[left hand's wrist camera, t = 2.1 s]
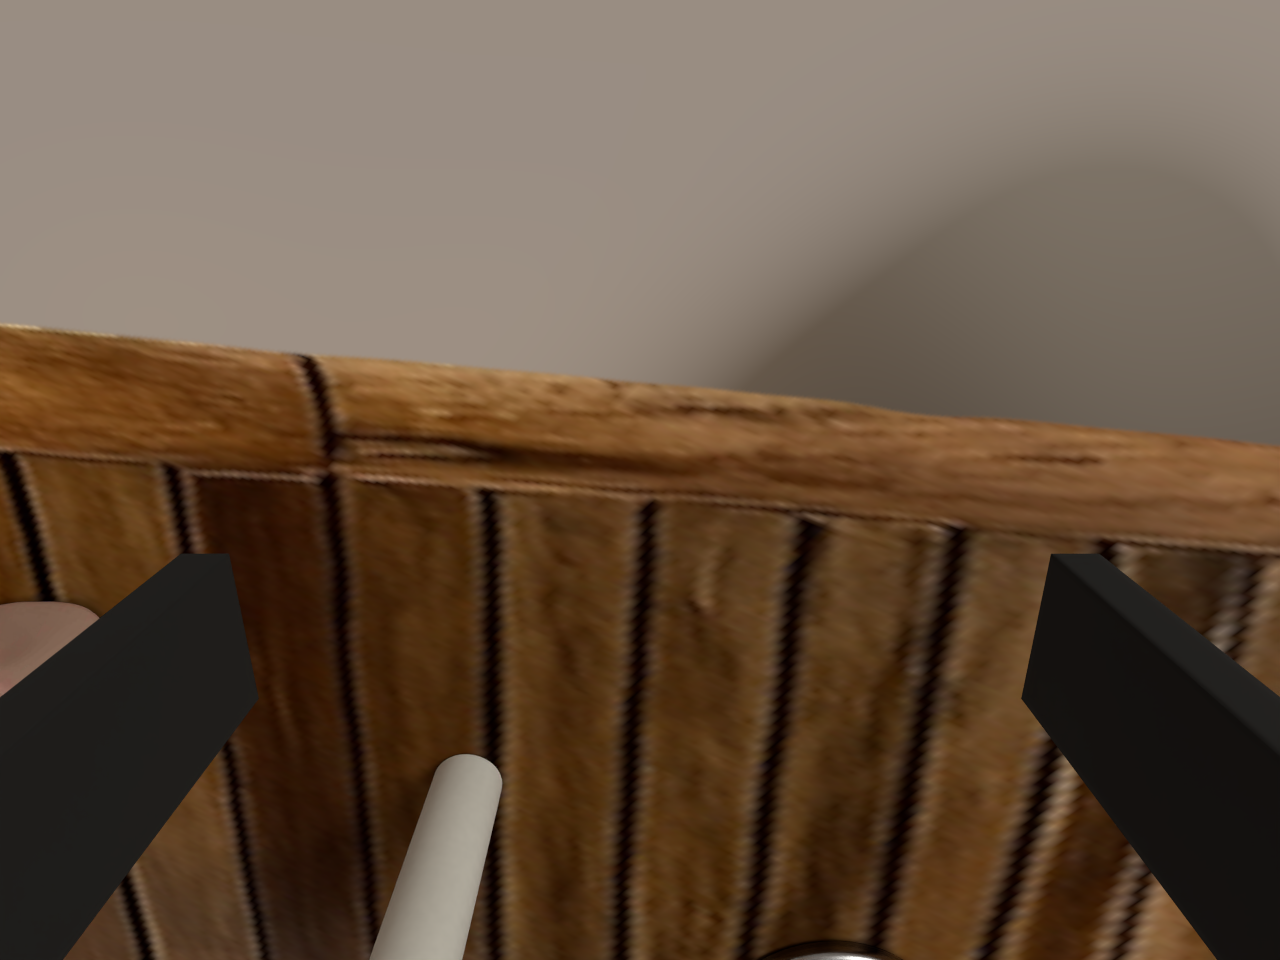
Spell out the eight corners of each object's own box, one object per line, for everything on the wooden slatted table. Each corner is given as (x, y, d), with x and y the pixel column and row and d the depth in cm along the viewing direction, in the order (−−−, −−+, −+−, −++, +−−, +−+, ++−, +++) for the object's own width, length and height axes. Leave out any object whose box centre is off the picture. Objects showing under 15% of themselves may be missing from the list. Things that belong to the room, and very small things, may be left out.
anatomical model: (4, 603, 40) (151, 765, 43) (59, 567, 43) (190, 719, 47) (-184, 702, 42) (-29, 849, 45) (-116, 660, 45) (22, 799, 49)
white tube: (487, 816, 50) (399, 1175, 32) (424, 793, 49) (298, 1146, 31) (513, 768, 48) (437, 1114, 30) (449, 743, 48) (332, 1082, 30)
